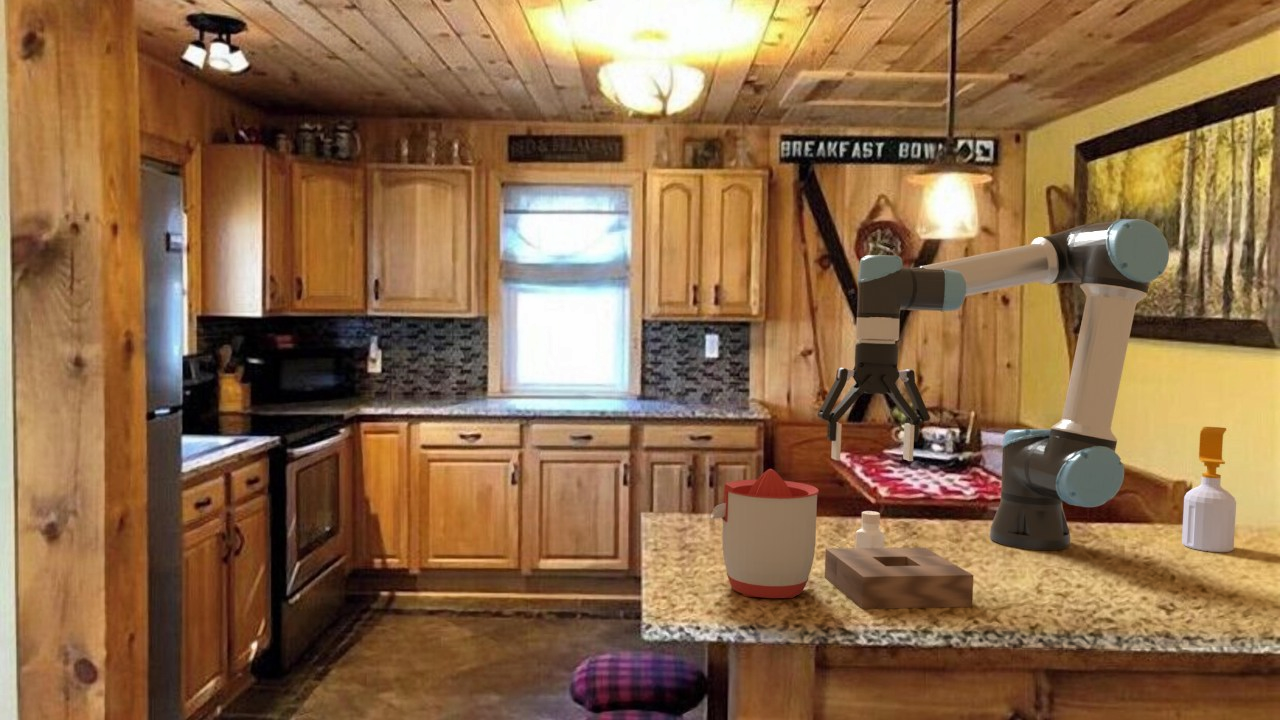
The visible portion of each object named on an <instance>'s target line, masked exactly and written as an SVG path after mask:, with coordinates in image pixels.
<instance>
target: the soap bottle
mask: <svg viewBox="0 0 1280 720" xmlns="http://www.w3.org/2000/svg"><path fill="white" fill-rule="evenodd" d="M1226 432H1227V428H1226V427H1220V426H1203V427H1202V428H1201V430H1200V432H1199V445H1198V446H1199V447H1198V450H1199V451H1198V460H1199V461H1200V462H1201V463H1203V466H1204V467H1206V472H1203V473H1201V482H1200V484H1199V485H1198V486H1196V487H1193V488H1191V489H1190V490H1188V491H1186V493H1185V495H1184V497H1183V515H1182V530H1181V531H1182V535H1181V543H1182V545H1183V546H1185V547H1186V548H1188V549H1191V550H1192V549H1193V550H1195V549H1196V551H1202V552H1207V551H1208V552H1209V553H1230V552H1232V551H1233V550H1234V548H1235V547H1234V546H1235V532H1236V531H1235V530H1236V512H1237V500H1236V498H1235V497H1234V496H1233V495H1232V494H1231V493H1230V492H1229V491H1228V490H1226V489H1224V488H1223V487H1222V485H1221V483H1222V482H1221V480H1222V479H1221V476H1222V475H1221V474H1219V473H1217V468H1220V465H1225V464H1226V462H1225V460H1223V444H1224V443H1223V441H1224V440H1223V439H1224V434H1225V433H1226Z"/></svg>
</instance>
